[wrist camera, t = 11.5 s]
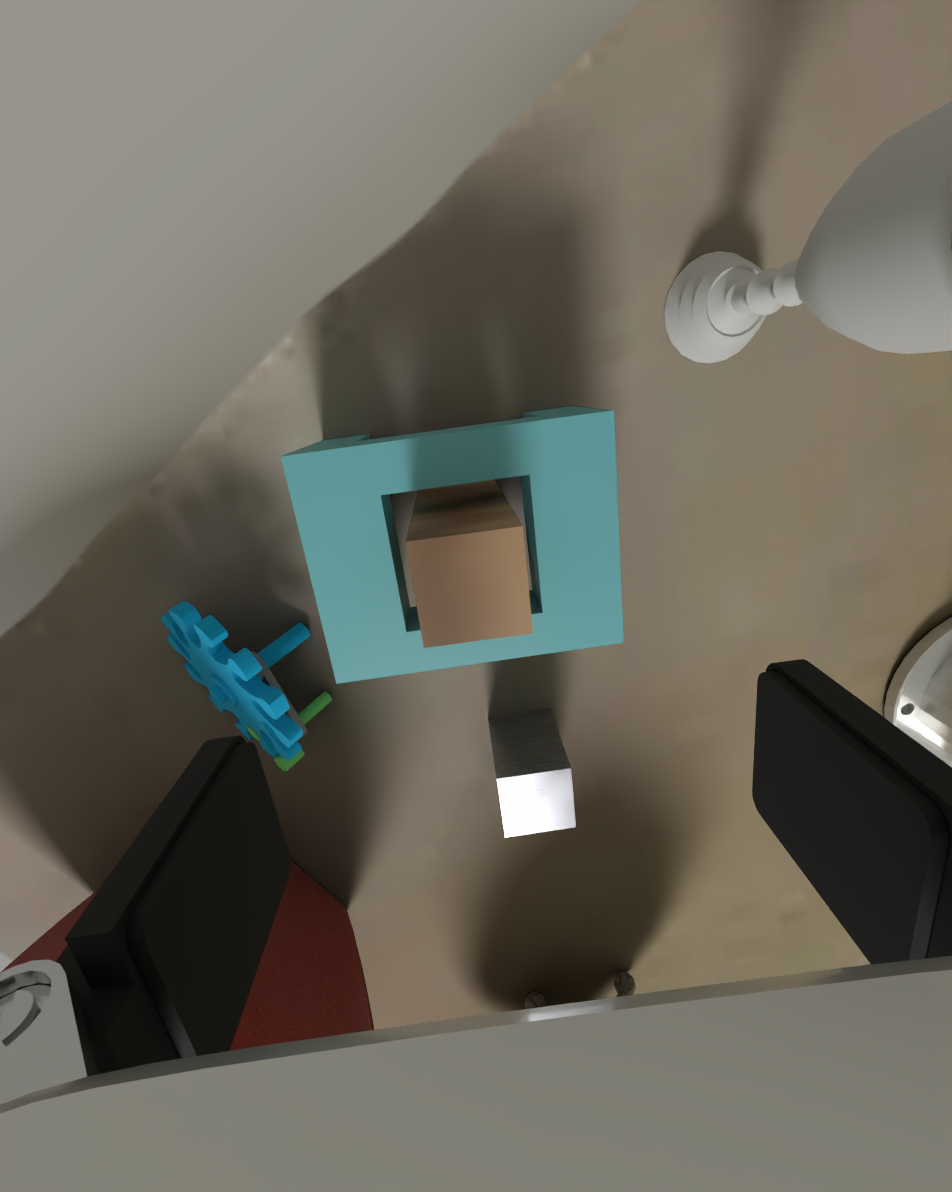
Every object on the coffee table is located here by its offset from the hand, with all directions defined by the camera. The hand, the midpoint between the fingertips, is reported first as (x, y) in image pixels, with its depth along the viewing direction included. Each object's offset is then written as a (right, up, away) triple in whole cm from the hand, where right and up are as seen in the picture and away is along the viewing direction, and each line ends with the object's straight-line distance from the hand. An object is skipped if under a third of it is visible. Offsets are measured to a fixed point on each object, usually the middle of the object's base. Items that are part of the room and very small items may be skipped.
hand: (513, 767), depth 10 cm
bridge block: (-2, +8, +20) cm, 22 cm away
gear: (-14, -1, +23) cm, 27 cm away
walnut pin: (-2, +8, +20) cm, 22 cm away
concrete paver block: (+2, -6, +26) cm, 26 cm away
